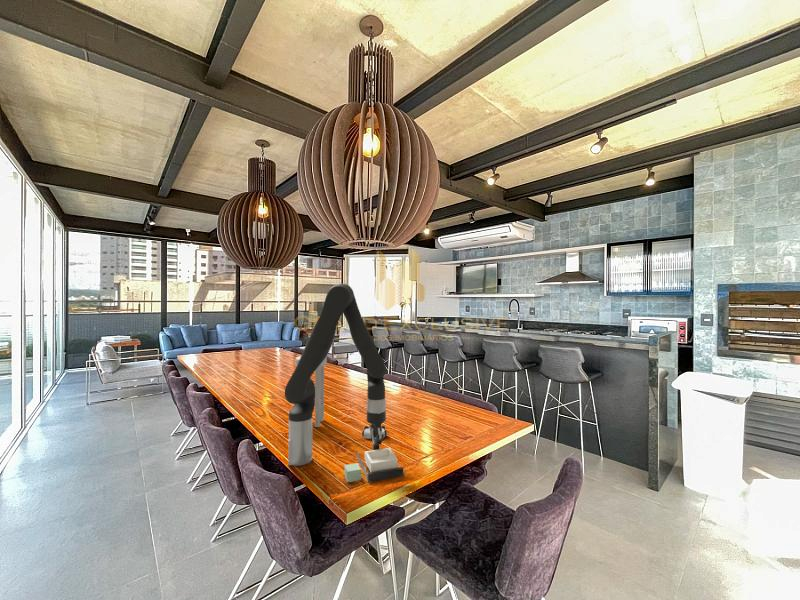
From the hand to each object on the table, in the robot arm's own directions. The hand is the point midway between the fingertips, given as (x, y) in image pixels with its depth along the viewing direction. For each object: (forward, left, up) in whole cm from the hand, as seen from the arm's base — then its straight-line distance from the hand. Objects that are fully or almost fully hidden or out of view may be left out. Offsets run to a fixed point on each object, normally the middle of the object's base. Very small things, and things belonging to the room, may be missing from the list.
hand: (376, 453), depth 131 cm
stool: (-21, +54, -5) cm, 58 cm away
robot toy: (+6, +27, -5) cm, 28 cm away
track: (0, -3, -5) cm, 5 cm away
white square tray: (0, -7, -3) cm, 8 cm away
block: (-11, -9, -5) cm, 15 cm away
